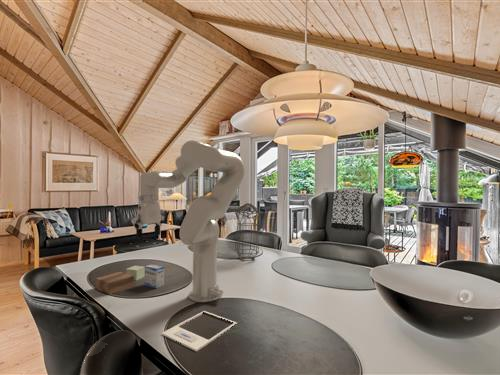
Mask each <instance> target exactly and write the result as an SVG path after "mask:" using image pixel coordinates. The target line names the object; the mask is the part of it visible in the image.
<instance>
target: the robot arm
mask: <svg viewBox="0 0 500 375" xmlns="http://www.w3.org/2000/svg"><path fill="white" fill-rule="evenodd" d="M175 167H176V169H174V170H173V171H161V170H160V171H159V170H154V171H147V172H146V171H144V172H141V173H140V176H139V179H140V180H139V183H140V184H139V185H140V186H139V190H140V191H139V196H138V198H137V199H138V201H139V202H138V205H137V211H136V213H137V214H136V216H134V217H133V218H131V219H130V221H131V223H132V226H133V227H134V228H135V229H136V230H135V231H136V232H135V235H136V238H139V239H142V238H143V229H142V228H143V226H144V225H151V224H154V235H156V236H159V235H161V227H162V224H163V223H164V220H165V216H164V215H162V213H161V206H160V202H159V201H158V189H174V188H176V187H178V186H180V185H181V184H183V183H185V182H186V181H187V180H188V178H189V176H190V174H192V173H194V172H195V171H197V170H198V169H200V168H201V169H204V170H207V171H210V172H217V173H223V174H222V175H221V176H220V178H219V179H218V180H217V181H216V183H215V184H214V187H213V189H212V190H211V193H210V194H208V195H207V194H206V195H199V196H198V197H196V198H195V199H193V201H192V202H191V204H190V205H189V207H188V210H187V211H186V214H185V216H184V218H183V220H182V223H181V225H180V227H179V238H180V242H182V243H183V244H184V245H185V246H190V247H191V246H194V247H193V253H192V290H191V291H190V292H189V293H188V299H189V300H191V301H192V302H196V303H209V302H213V301H216V300H218V299H221V298H222V296H223V294H224V290H222V289H219V286H220V285H218V284H217V278H218V276H217V269H218V268H217V267H218V266H217V265H218V264H217V263H218V262H217V261H218V259H217V258H218V244H219V243H218V242H219V238H220V226H219V223H218V221H216V220H219V219H223V217H224V216H225V215H226V214H227V211H228V209H229V208H230V206H231V203H232V201H233V199H234V197H235V194H236V192H237V190H238V189H239V187H240V185H241V183H242V182H243V179H244V176H245V164H244V162H243V160H242V158H241V157H240V156H239V155H238V154H237V153H235V152H233V151H229V150H225V149H221V148H217V147H213V146H211V145H210V144H209V143H205V142H201V141H198V140H193V139H192V140H191V139H190V140H187V141H185V143H183V145H181V148H180V155H179V156H177V157H176V159H175Z"/></svg>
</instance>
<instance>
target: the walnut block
mask: <svg viewBox="0 0 500 375" xmlns="http://www.w3.org/2000/svg"><path fill="white" fill-rule="evenodd" d="M94 287H95V290H98V291H99V290H100V291H99V292H102V291H103V292H102V293H104V292H105V293H104V294H107V293H108V295H109V294H110V295H112V293H113V294H115V292H116V293H119V292H122V291H125V290H128V289H130V288H134V287H135V280H134V276H133V275H129V274H126V272H123V271H117V272H113V273H110V274H106V275H102V276H98V277H96V278H95V286H94Z"/></svg>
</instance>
